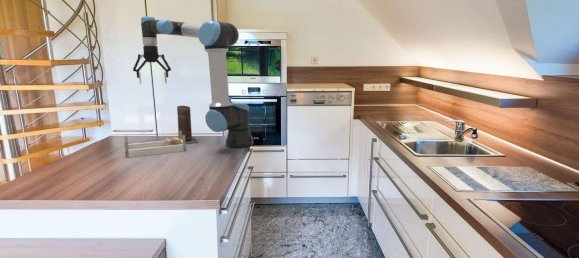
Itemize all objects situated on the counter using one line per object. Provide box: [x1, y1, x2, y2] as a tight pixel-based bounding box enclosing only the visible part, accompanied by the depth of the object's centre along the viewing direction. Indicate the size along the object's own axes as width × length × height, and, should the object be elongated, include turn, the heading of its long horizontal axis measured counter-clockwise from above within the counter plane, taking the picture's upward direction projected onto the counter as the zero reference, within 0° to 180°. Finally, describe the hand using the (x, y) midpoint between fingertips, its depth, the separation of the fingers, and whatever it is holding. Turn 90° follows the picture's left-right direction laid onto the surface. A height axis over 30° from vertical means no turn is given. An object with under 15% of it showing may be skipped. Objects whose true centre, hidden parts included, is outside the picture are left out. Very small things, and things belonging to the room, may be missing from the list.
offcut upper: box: [164, 136, 181, 146], centre depth 174 cm, size 6×7×3 cm
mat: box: [185, 136, 199, 145], centre depth 190 cm, size 14×14×1 cm
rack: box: [124, 131, 187, 158], centre depth 170 cm, size 28×13×8 cm, turn 116°
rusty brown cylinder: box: [176, 105, 193, 141], centre depth 189 cm, size 8×7×20 cm
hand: (153, 83), depth 190 cm, fingers open, 13 cm apart
